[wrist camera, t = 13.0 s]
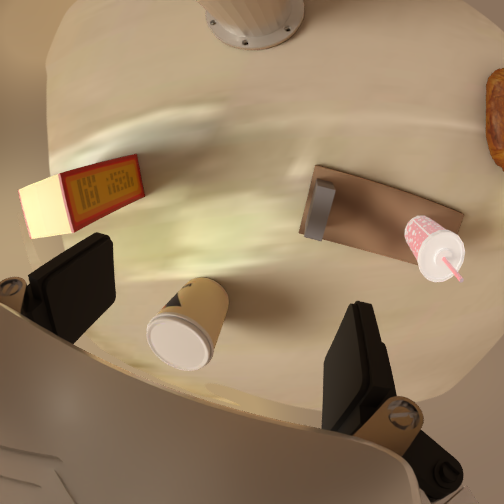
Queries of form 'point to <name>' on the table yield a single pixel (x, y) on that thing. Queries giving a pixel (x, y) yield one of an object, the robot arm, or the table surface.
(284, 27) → the robot arm
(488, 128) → the croissant
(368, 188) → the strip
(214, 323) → the coffee cup
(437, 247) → the beverage cup
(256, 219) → the table surface
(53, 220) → the baking soda box
